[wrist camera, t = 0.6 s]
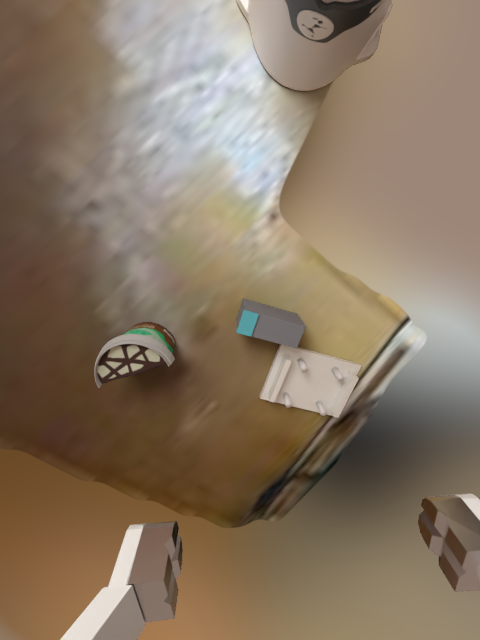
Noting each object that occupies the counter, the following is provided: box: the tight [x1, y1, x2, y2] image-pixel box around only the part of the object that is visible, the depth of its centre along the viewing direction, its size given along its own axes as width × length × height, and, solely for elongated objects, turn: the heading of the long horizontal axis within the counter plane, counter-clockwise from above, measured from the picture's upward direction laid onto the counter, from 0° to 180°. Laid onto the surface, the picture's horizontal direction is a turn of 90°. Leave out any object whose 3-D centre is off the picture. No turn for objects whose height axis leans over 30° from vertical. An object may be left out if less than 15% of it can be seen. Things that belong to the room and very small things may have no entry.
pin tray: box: [260, 344, 361, 418], centre depth 53 cm, size 12×16×4 cm
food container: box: [94, 322, 175, 388], centre depth 45 cm, size 12×6×10 cm, turn 108°
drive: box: [236, 299, 306, 349], centre depth 47 cm, size 4×10×6 cm, turn 73°
